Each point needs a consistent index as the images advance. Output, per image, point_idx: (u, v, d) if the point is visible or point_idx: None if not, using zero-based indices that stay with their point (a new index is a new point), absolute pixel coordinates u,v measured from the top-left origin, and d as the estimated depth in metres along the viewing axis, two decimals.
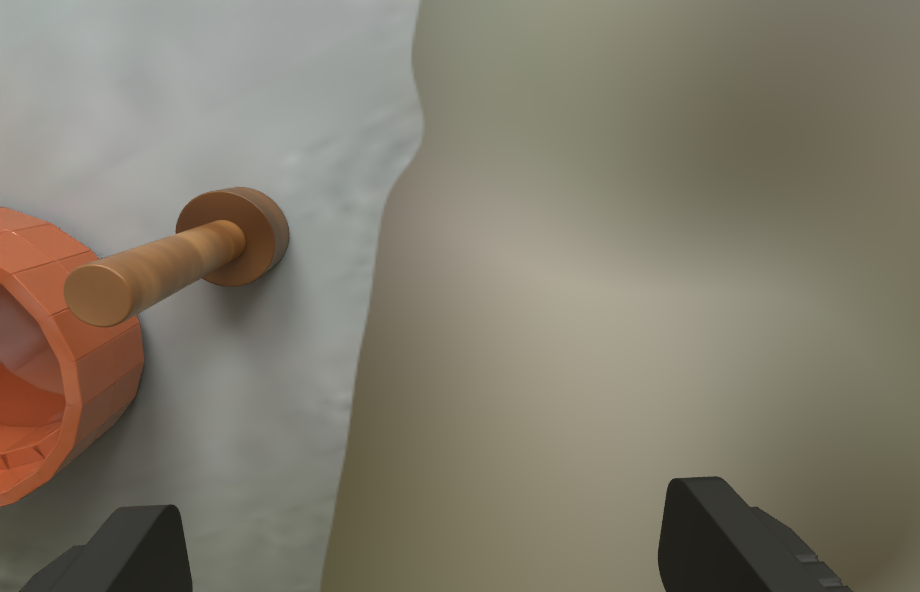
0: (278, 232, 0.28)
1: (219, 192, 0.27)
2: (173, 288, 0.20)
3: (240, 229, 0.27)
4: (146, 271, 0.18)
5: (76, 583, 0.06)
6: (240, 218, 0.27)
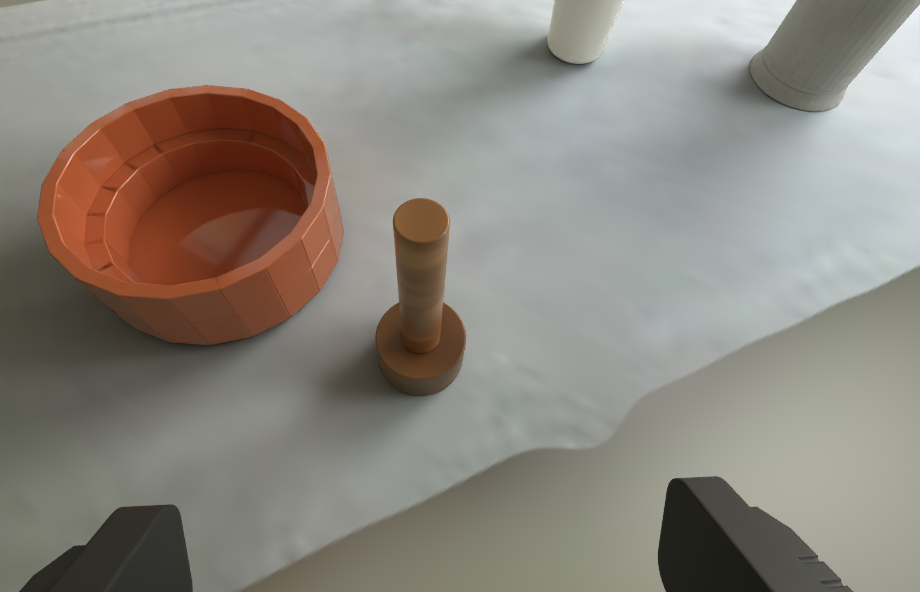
0: (450, 373, 0.29)
1: (456, 314, 0.30)
2: (423, 282, 0.22)
3: (438, 341, 0.29)
4: (445, 250, 0.21)
5: (76, 583, 0.06)
6: (446, 338, 0.29)
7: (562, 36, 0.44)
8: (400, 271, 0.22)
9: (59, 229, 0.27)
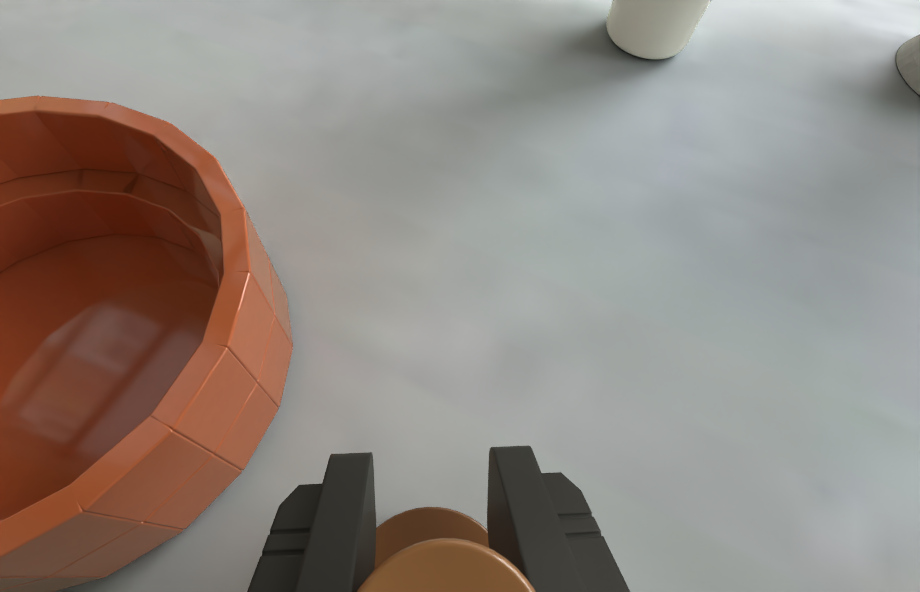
0: None
1: None
2: None
3: None
4: None
5: (333, 507, 0.07)
6: None
7: (634, 18, 0.30)
8: None
9: None
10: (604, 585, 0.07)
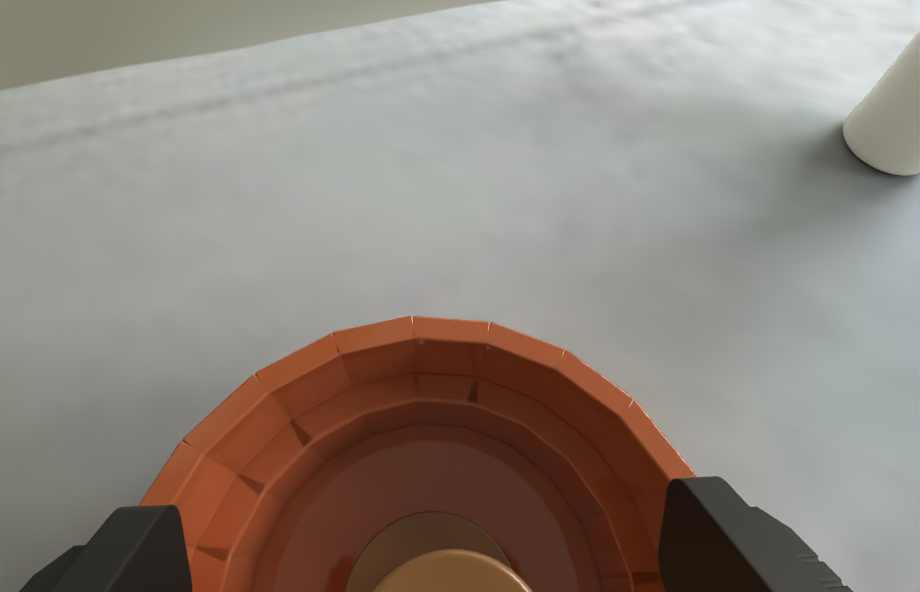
0: None
1: (499, 549, 0.15)
2: None
3: None
4: None
5: (76, 583, 0.06)
6: None
7: (899, 138, 0.27)
8: None
9: None
10: None
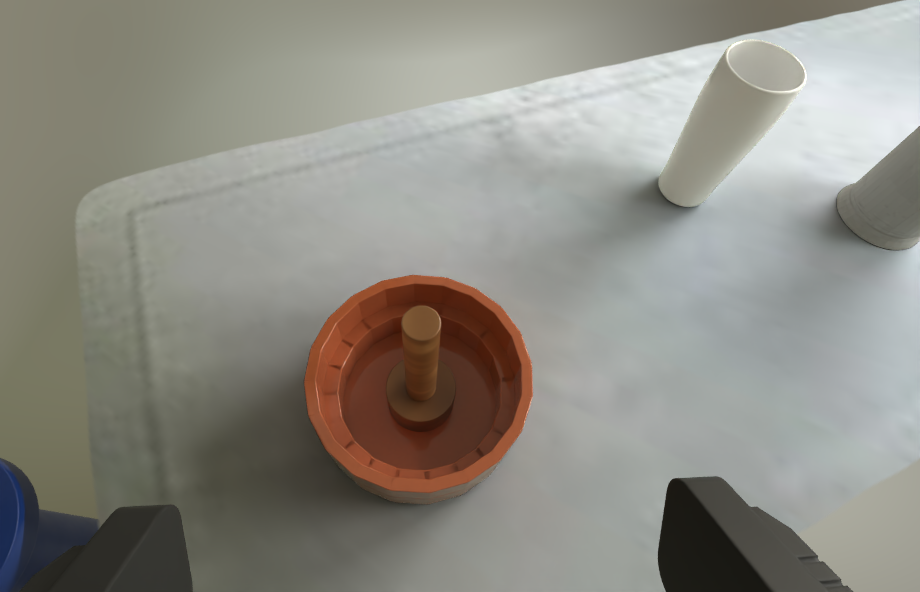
0: (444, 415, 0.38)
1: (448, 368, 0.38)
2: (422, 361, 0.30)
3: (434, 391, 0.37)
4: (438, 340, 0.29)
5: (76, 583, 0.06)
6: (441, 388, 0.38)
7: (677, 187, 0.50)
8: (406, 352, 0.30)
9: (327, 426, 0.33)
10: None
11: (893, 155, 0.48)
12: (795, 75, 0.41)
